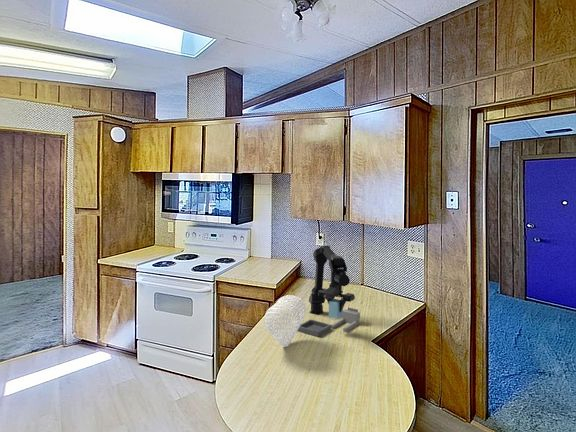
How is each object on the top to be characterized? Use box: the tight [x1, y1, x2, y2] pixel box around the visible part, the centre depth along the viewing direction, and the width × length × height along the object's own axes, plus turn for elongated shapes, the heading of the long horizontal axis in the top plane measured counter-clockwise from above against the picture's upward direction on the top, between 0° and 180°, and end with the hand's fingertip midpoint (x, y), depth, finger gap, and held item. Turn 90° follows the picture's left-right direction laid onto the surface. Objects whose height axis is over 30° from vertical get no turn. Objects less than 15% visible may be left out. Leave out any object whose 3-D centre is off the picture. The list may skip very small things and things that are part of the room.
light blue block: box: [328, 298, 344, 320], centre depth 179 cm, size 5×6×9 cm
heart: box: [264, 294, 307, 348], centre depth 162 cm, size 28×16×22 cm, turn 164°
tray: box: [297, 318, 332, 338], centre depth 182 cm, size 13×13×3 cm
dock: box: [330, 307, 361, 333], centre depth 190 cm, size 9×18×7 cm, turn 143°
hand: (335, 311), depth 180 cm, fingers closed on light blue block, 5 cm apart
